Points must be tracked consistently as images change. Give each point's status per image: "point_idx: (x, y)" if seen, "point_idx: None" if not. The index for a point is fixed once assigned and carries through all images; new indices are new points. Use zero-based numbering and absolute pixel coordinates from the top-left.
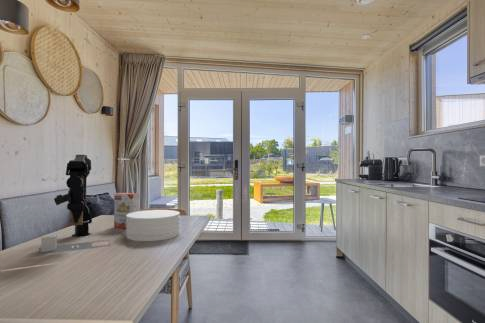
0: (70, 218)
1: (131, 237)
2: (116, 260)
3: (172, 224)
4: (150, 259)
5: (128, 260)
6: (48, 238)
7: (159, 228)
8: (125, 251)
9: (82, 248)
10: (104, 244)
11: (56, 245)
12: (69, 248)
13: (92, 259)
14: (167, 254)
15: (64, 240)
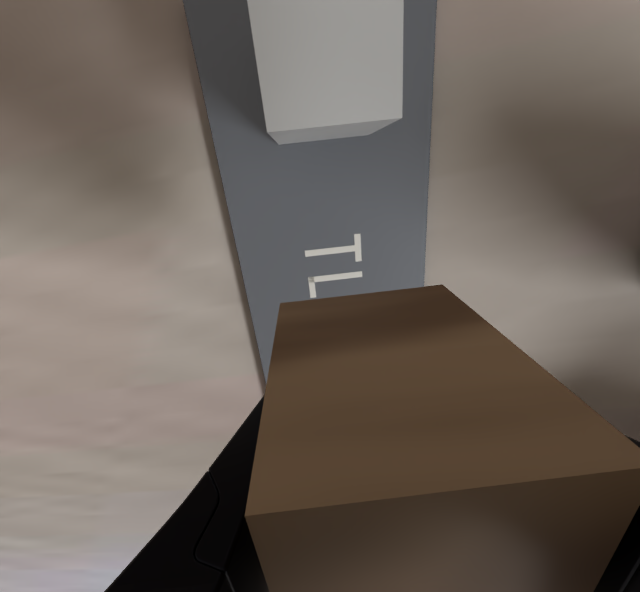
0: (272, 383)
1: None
2: (36, 463)
3: None
4: (42, 549)
5: (33, 497)
6: (257, 51)
7: None
8: (176, 482)
9: (269, 313)
10: None
11: (360, 134)
12: (299, 236)
13: (61, 379)
14: (101, 584)
15: (615, 145)
